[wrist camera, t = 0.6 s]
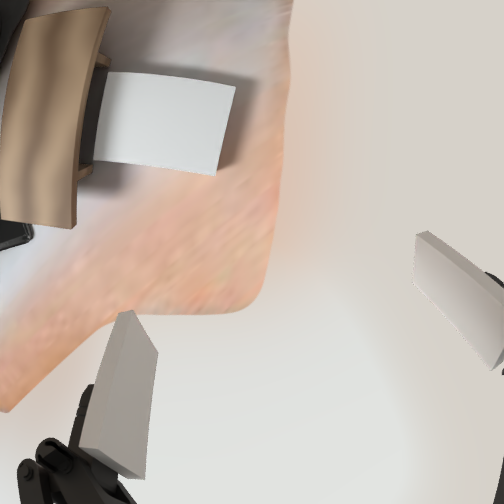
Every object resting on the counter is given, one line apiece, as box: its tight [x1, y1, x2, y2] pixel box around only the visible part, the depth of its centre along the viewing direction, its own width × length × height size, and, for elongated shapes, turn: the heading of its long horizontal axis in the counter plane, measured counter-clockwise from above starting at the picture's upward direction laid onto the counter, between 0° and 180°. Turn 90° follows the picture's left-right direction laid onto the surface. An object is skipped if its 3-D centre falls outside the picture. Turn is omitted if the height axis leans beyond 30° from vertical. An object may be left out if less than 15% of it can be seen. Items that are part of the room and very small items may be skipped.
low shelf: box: [0, 7, 111, 229], centre depth 22 cm, size 11×24×6 cm, turn 167°
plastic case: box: [93, 72, 236, 176], centre depth 27 cm, size 14×10×3 cm
